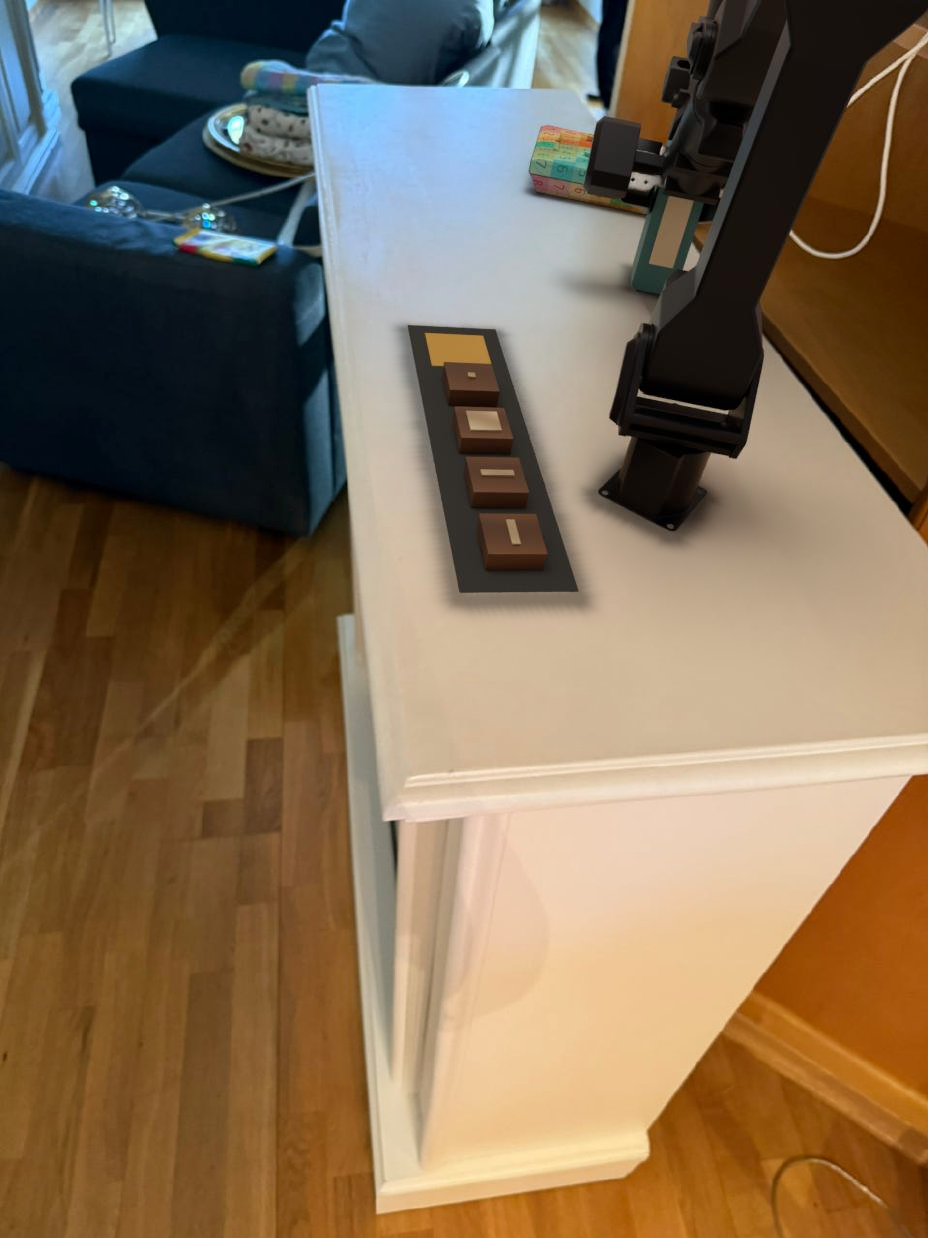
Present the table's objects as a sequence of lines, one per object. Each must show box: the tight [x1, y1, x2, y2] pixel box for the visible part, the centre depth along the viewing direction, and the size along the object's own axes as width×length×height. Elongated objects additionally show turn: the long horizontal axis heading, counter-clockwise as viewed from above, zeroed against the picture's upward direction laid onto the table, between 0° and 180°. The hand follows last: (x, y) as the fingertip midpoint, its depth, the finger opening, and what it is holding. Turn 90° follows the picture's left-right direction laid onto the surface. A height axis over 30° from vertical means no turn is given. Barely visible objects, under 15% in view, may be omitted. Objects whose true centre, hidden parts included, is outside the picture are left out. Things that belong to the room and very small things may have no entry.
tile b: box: [463, 457, 529, 508], centre depth 64 cm, size 4×4×2 cm
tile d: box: [442, 362, 500, 407], centre depth 73 cm, size 4×4×2 cm
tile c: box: [452, 406, 513, 454], centre depth 69 cm, size 4×4×2 cm
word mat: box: [407, 324, 579, 594], centre depth 69 cm, size 33×8×1 cm, turn 8°
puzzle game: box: [528, 124, 645, 215], centre depth 106 cm, size 12×5×20 cm
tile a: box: [476, 513, 548, 570], centre depth 60 cm, size 4×4×2 cm
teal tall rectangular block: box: [630, 139, 704, 295], centre depth 88 cm, size 5×4×13 cm
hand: (671, 213), depth 89 cm, fingers closed on teal tall rectangular block, 4 cm apart
